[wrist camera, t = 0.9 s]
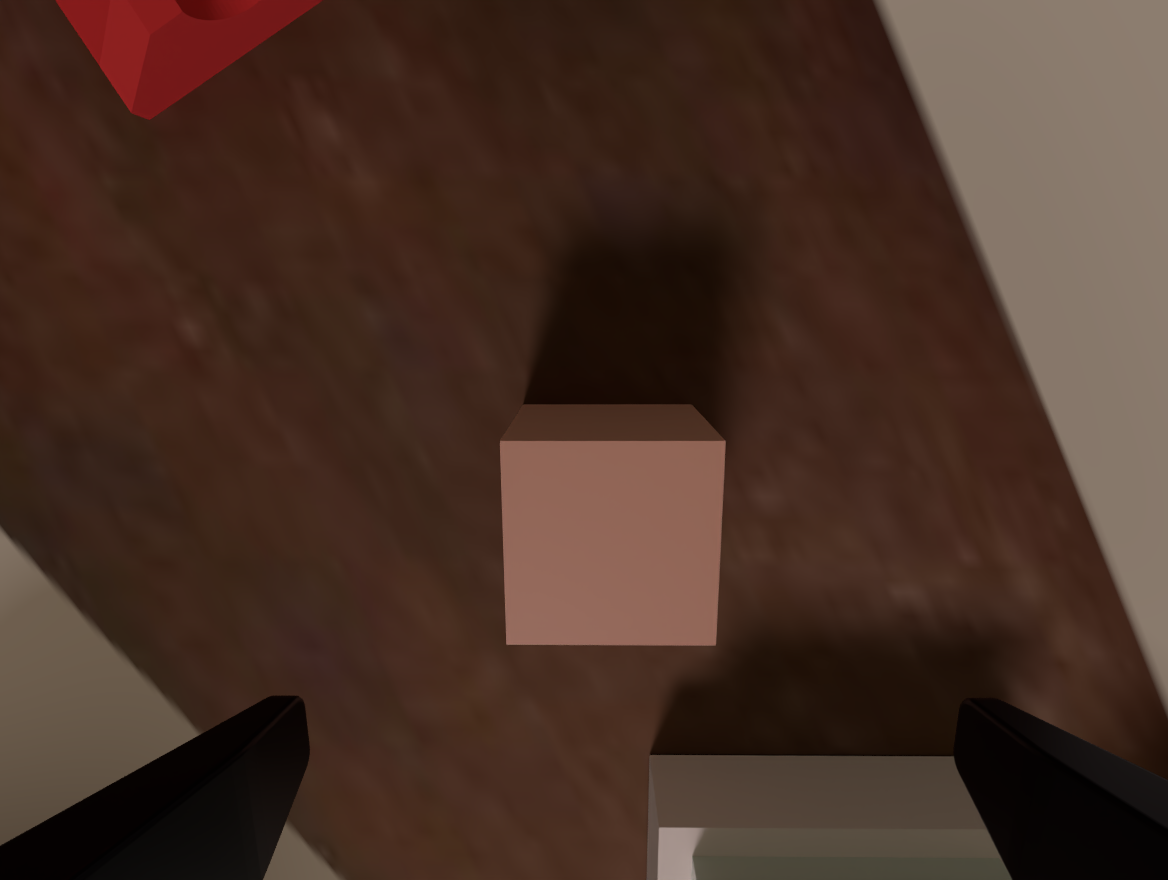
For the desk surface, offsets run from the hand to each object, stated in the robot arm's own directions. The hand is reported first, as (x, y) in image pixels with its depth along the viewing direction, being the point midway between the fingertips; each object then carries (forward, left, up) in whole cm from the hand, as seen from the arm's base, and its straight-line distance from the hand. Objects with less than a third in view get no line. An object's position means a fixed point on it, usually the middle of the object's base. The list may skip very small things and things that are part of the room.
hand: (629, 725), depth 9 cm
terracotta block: (0, 0, -11) cm, 11 cm away
